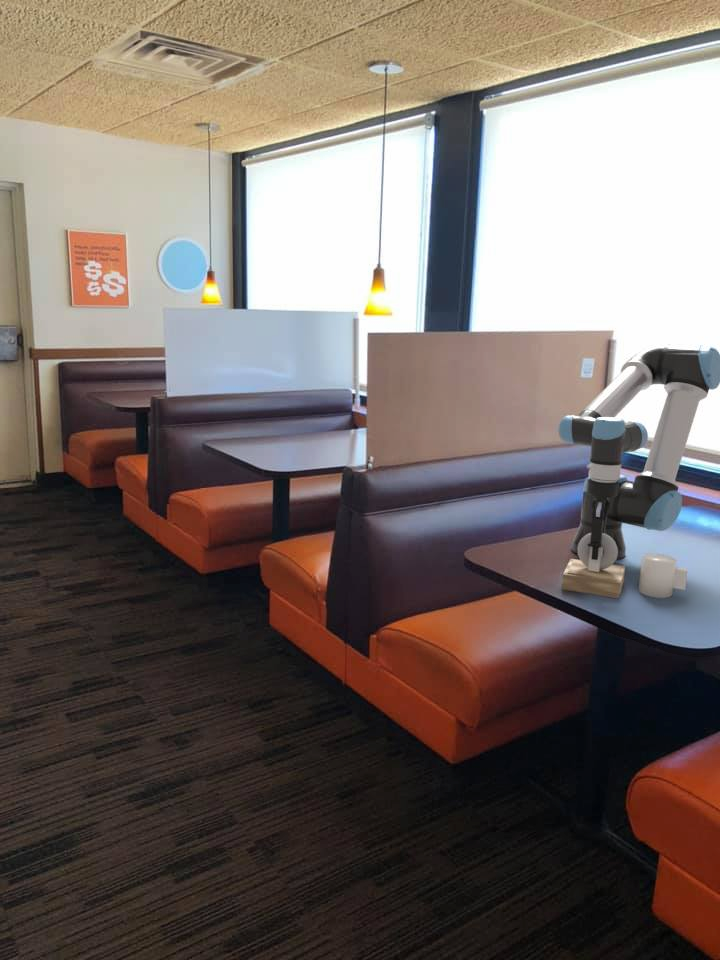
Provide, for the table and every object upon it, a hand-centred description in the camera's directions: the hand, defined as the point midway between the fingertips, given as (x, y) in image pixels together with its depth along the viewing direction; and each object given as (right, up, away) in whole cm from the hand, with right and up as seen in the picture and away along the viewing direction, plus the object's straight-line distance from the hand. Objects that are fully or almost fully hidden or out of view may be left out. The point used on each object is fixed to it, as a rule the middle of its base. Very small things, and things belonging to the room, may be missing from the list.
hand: (594, 567), depth 196 cm
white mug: (+16, -6, -3) cm, 17 cm away
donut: (0, -1, 0) cm, 1 cm away
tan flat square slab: (0, -5, +1) cm, 5 cm away
